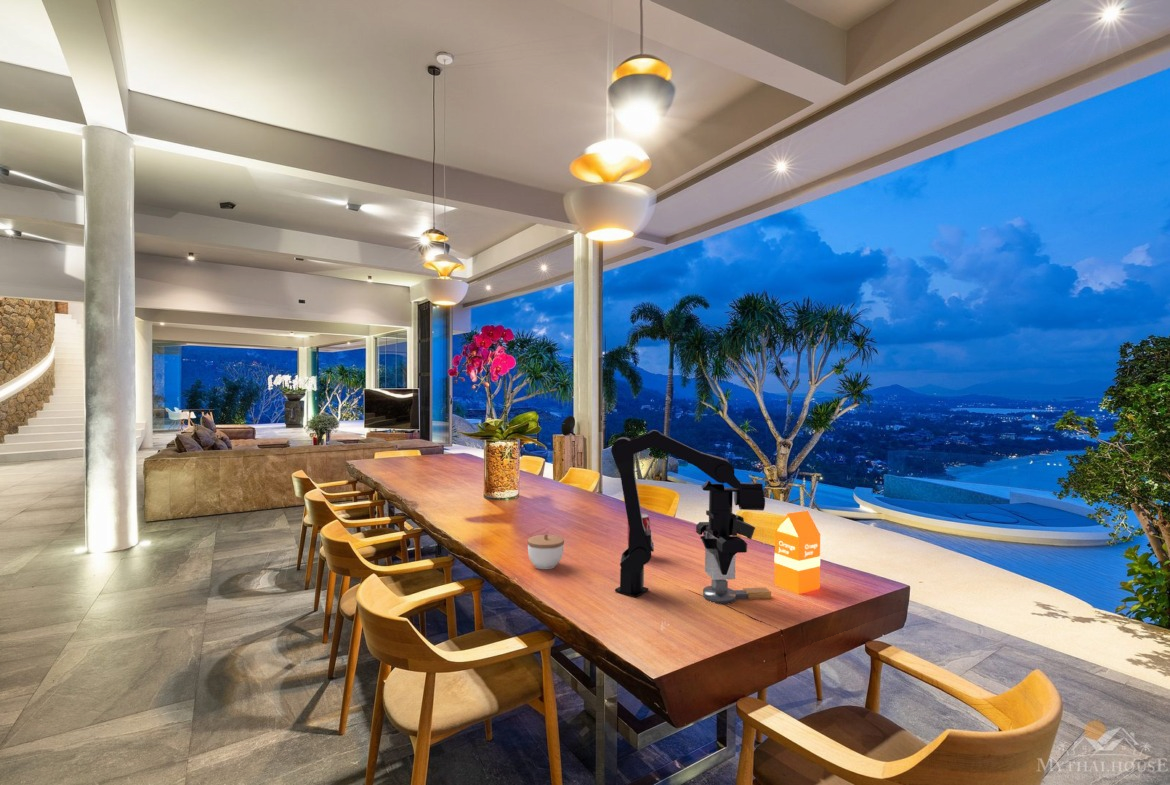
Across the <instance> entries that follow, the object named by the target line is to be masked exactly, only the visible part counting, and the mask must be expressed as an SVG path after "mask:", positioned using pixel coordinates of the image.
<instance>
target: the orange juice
mask: <svg viewBox="0 0 1170 785" xmlns="http://www.w3.org/2000/svg"><path fill="white" fill-rule="evenodd" d="M820 567H821V533H820V531H819V529H818V528H817V526H816V523H815V521H814V519H813V518H812V516H811V514H810V512H809V510H802V511H795V512H789V513H786V514H785V516H784V517H783V519H782V520H781V522H780V523H779V524H778V526H777V527H776V529H775V531H774V576H773V577H774V585H775V586H776V587H780V588H781V589H783V590H786V591H789V592H791V593H794V594H797V595H800V594H805V593H808V592H813V591H816V590H819V589H820V586H821V585H820V584H821V583H820V582H821V581H820V580H821V576H820V575H821V568H820Z"/></svg>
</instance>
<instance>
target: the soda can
mask: <svg viewBox="0 0 1170 785" xmlns="http://www.w3.org/2000/svg"><path fill="white" fill-rule="evenodd" d="M641 514H642V520H643V524H644V527H645V529H646V531H647V530H650V529H651V519H650V516H649V514H647V513H645V512H644V513H642V512H641ZM626 537H627V543H626V544H627V549H628V548H629V525H628V524H627V536H626ZM627 549H626V550H627Z"/></svg>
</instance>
